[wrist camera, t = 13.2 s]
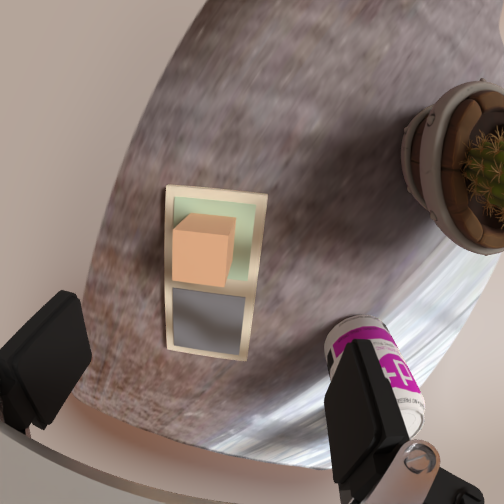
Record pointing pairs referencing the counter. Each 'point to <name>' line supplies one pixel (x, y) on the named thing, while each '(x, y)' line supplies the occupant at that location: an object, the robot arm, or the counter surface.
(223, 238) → the block
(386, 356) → the supplement can
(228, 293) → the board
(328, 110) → the counter surface
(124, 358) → the counter surface
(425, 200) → the flowerpot
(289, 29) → the counter surface
